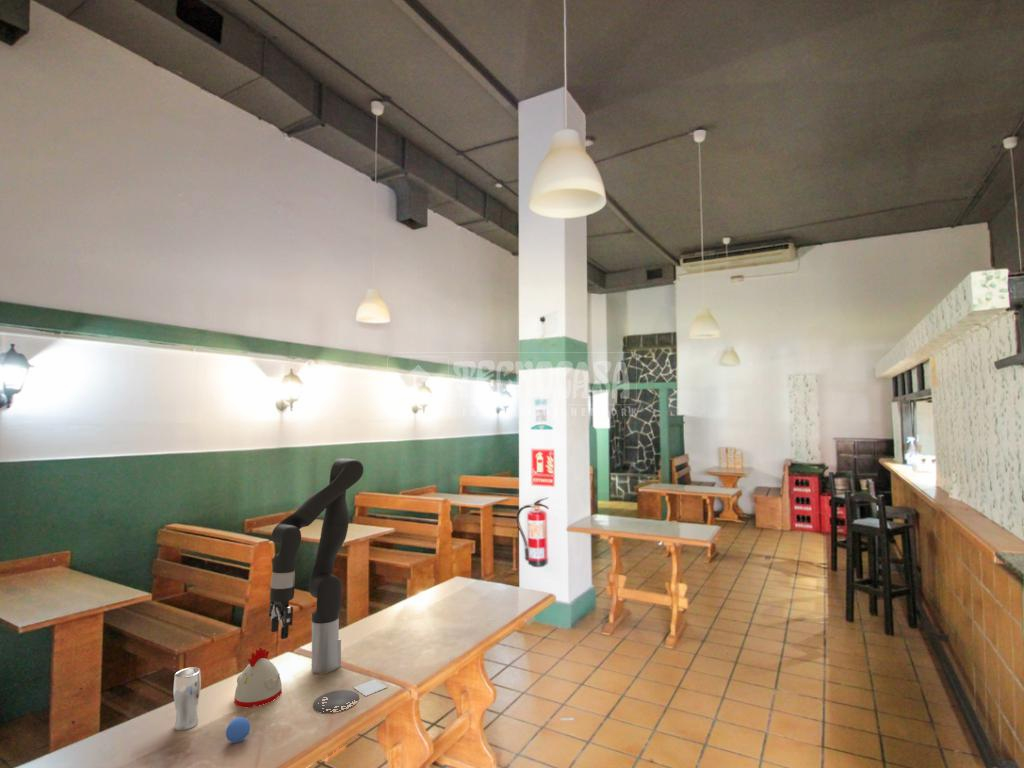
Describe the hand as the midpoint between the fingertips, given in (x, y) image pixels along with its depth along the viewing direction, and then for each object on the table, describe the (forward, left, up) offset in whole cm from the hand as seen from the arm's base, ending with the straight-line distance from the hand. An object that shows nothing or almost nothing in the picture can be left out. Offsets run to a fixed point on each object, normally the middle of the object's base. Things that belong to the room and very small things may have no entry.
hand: (279, 634), depth 180 cm
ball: (+19, +22, -15) cm, 33 cm away
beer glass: (+27, +2, -18) cm, 33 cm away
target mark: (-10, +22, -18) cm, 30 cm away
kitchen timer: (+6, 0, -18) cm, 19 cm away
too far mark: (-22, +22, -18) cm, 35 cm away
